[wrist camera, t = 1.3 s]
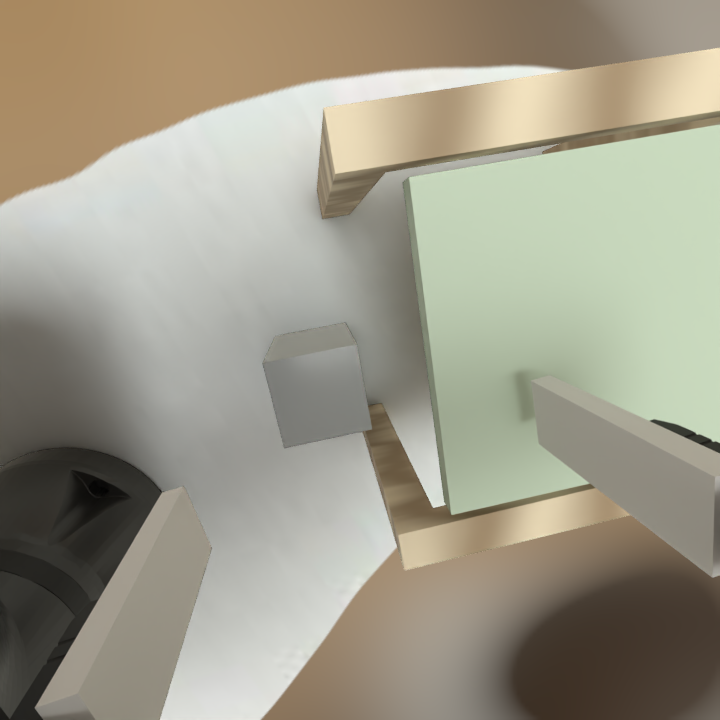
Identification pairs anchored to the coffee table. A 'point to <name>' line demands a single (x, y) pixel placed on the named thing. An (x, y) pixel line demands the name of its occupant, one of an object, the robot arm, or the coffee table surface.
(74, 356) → the coffee table surface
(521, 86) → the frame
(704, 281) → the trapdoor
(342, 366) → the grey rectangular block
